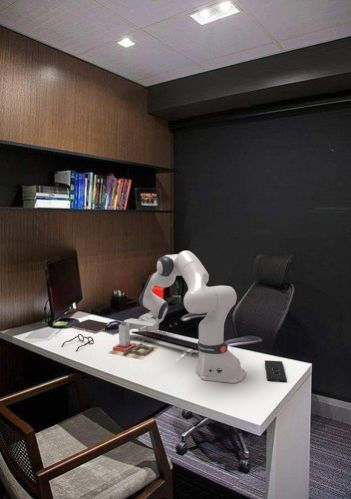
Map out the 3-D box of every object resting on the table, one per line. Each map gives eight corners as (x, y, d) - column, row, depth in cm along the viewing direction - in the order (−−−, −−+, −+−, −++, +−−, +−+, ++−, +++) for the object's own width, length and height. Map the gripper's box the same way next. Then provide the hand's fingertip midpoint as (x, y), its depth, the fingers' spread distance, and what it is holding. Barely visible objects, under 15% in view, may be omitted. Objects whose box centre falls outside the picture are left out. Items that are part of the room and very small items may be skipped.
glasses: (94, 345, 204) (94, 336, 204) (75, 352, 194) (75, 343, 193) (79, 341, 212) (78, 332, 212) (60, 347, 202) (59, 339, 201)
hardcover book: (95, 334, 224) (95, 330, 223) (70, 328, 236) (70, 325, 236) (114, 327, 237) (114, 324, 236) (89, 322, 250) (89, 318, 249)
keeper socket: (136, 346, 195) (136, 344, 195) (126, 352, 187) (126, 349, 187) (122, 344, 199) (122, 341, 199) (112, 349, 191) (112, 347, 191)
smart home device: (266, 378, 155) (264, 359, 175) (266, 382, 155) (264, 363, 175) (287, 379, 154) (282, 360, 173) (287, 383, 154) (282, 364, 174)
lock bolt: (130, 347, 194) (129, 322, 193) (125, 350, 191) (124, 324, 189) (124, 346, 196) (123, 321, 195) (119, 349, 192) (118, 323, 191)
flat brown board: (160, 350, 194) (160, 344, 193) (141, 362, 178) (141, 356, 177) (127, 344, 203) (127, 339, 203) (107, 355, 187) (107, 350, 187)
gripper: (130, 314, 216) (116, 320, 204) (160, 318, 207) (147, 325, 194) (131, 325, 217) (117, 331, 204) (160, 329, 207) (148, 337, 195)
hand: (132, 328), depth 199 cm, fingers open, 8 cm apart
